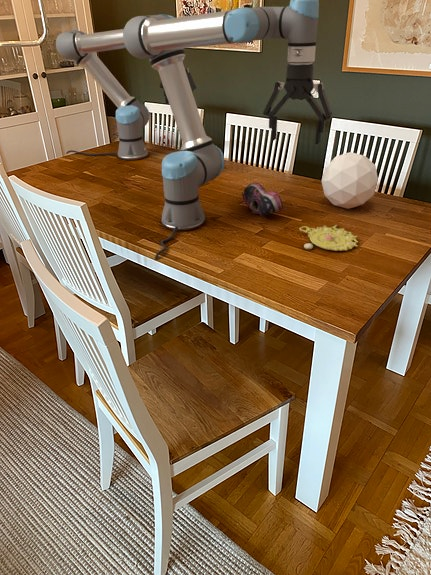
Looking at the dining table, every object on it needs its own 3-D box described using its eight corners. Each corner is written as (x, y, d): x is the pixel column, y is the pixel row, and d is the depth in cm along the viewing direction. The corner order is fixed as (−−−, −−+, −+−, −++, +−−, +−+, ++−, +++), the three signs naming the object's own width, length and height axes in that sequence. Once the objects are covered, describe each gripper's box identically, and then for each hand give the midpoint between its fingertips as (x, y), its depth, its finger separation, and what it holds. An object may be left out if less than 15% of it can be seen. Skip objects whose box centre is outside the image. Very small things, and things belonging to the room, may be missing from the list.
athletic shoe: (254, 181, 170) (227, 189, 167) (283, 176, 151) (253, 185, 147) (260, 210, 173) (234, 218, 170) (290, 209, 154) (261, 219, 150)
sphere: (353, 227, 164) (368, 198, 145) (307, 200, 169) (316, 169, 150) (378, 190, 169) (396, 158, 150) (333, 165, 174) (345, 131, 155)
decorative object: (343, 255, 128) (285, 234, 139) (342, 262, 130) (284, 241, 140) (372, 230, 142) (317, 213, 152) (371, 237, 143) (316, 219, 153)
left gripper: (150, 57, 214) (154, 103, 226) (193, 58, 204) (195, 107, 215) (159, 55, 220) (162, 101, 231) (202, 56, 209) (203, 104, 220)
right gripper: (253, 63, 124) (252, 140, 136) (343, 65, 115) (333, 148, 127) (262, 61, 130) (260, 135, 141) (348, 62, 121) (339, 141, 132)
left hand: (178, 104), depth 223 cm, fingers open, 13 cm apart
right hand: (295, 141), depth 134 cm, fingers open, 13 cm apart
